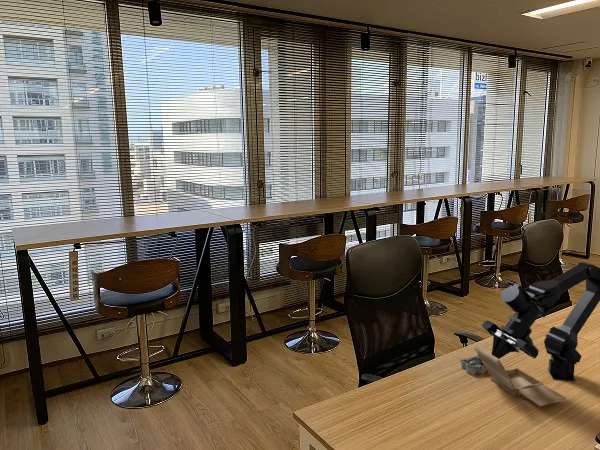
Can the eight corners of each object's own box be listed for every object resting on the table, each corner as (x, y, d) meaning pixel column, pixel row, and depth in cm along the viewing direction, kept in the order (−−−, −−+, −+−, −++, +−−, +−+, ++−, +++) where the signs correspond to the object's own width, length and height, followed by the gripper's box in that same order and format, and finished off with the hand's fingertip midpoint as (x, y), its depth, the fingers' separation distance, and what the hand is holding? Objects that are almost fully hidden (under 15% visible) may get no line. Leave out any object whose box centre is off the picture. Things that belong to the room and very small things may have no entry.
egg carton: (486, 363, 165) (487, 351, 164) (498, 373, 158) (499, 361, 157) (457, 365, 164) (457, 354, 163) (467, 376, 156) (468, 364, 156)
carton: (516, 374, 156) (516, 367, 155) (566, 405, 138) (566, 397, 137) (490, 380, 153) (491, 372, 152) (538, 412, 135) (539, 403, 134)
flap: (492, 372, 152) (476, 345, 148) (515, 387, 142) (499, 359, 139) (489, 374, 152) (473, 347, 148) (512, 390, 142) (496, 361, 139)
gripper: (562, 345, 140) (530, 388, 139) (515, 323, 157) (486, 361, 156) (541, 325, 136) (508, 369, 135) (495, 304, 153) (466, 343, 152)
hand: (492, 360), depth 145 cm, fingers closed, pressing on flap
